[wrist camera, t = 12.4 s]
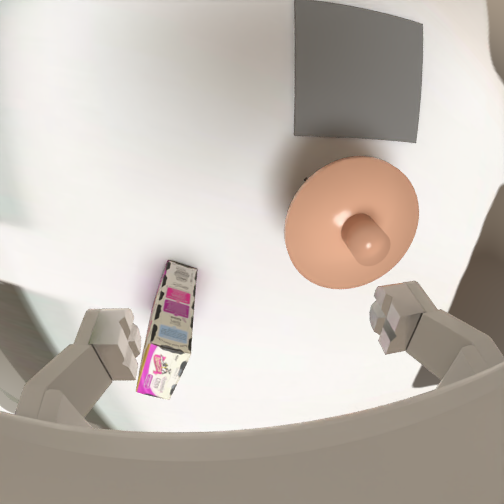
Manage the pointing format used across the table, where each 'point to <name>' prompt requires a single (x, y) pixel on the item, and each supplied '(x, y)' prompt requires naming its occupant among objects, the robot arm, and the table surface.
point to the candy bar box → (168, 332)
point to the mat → (356, 73)
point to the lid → (351, 222)
